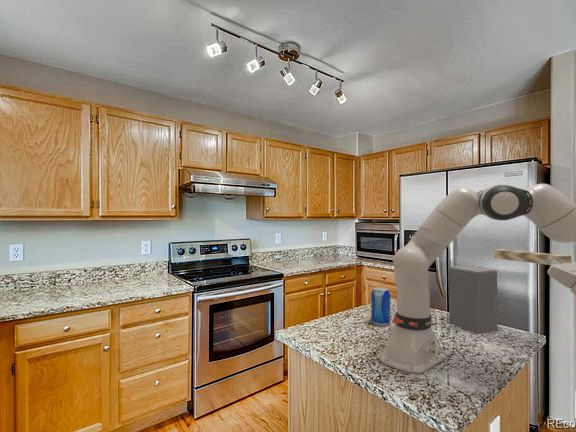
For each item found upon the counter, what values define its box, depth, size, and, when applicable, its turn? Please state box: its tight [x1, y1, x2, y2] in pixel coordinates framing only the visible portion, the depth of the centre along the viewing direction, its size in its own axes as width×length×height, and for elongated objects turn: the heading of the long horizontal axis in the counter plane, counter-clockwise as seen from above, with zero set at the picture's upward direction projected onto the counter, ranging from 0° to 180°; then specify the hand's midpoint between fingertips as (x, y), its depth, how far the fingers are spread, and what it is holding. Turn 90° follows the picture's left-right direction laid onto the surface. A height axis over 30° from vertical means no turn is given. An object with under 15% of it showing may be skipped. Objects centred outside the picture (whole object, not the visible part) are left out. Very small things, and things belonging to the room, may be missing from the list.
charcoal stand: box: [448, 265, 499, 335], centre depth 136 cm, size 14×12×26 cm
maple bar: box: [493, 248, 572, 266], centre depth 115 cm, size 24×4×4 cm, turn 20°
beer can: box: [370, 286, 391, 327], centre depth 141 cm, size 8×8×16 cm
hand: (553, 258), depth 107 cm, fingers closed on maple bar, 4 cm apart
